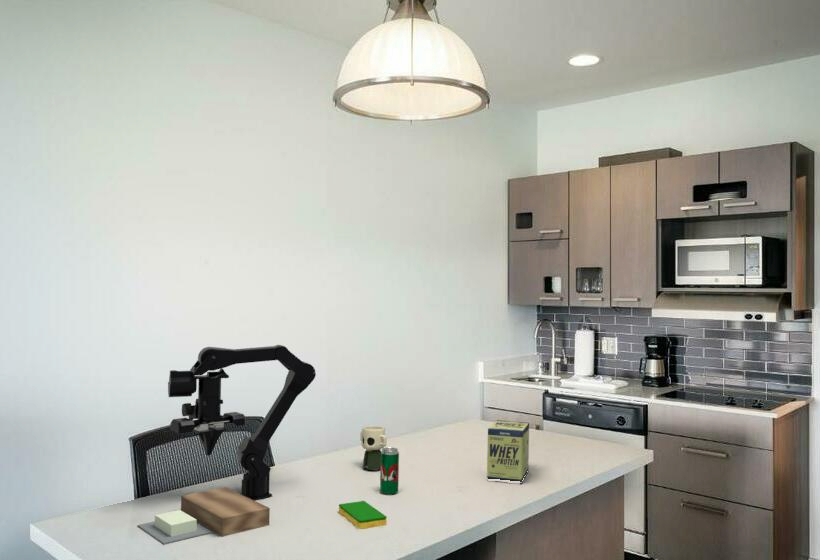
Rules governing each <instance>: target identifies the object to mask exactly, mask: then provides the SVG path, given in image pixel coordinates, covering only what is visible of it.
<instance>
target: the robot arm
mask: <svg viewBox="0 0 820 560" xmlns="http://www.w3.org/2000/svg"><path fill="white" fill-rule="evenodd" d="M270 361H271V362H272V361H278V362H279V363H280V364H281V365H282V366H283V367H284V368H285V369H286V370H288V372H287V375H286V376H285V380H284V386H283V388H282V390H281V391H280V393H279V394H278V396H277V397H276V399H275V400H274V402H273V404H272V405H271V407H270V408H269V410H268V412H267V413H266V415H265V417H263V420H262V422H261V423H260V425H259V426H258V428H257V429H256V431H255V432H254V433H253V434H252V435H251V436H250V437H249V436H248V435H244V436H243V438H242V441H241V442H240V444H239V445H238V446H236V449H237V452H236V459H237V463H239V464H240V466H241V467H242V468H243V469H244V470H245V471H246V472H244V473H243V474H242V477H243V478H242V480H241V492H239V494H241V495H243V496H245V497H247V498H250V499H252V500H254V501H256V500H261V499H265V498H269V497H273V494H272V493H271V492H270V472H271V469H272V468H271V467H270V466H269V464H268V463H266V461H265V460H264V459H265V456H266V454H267V450H268V446H269V443H270V440H271V439H272V437H273V436H274V434H275V432H276V431H277V429H278V428H279V426H280V424H281V422H282V421H283V419H284V418H285V416H286V415H287V413H288V411H289V410H290V408H291V406H292V405H293V404H294V401H295V400H296V399H297V397H298V396H299V395H301V393H303V392H304V391H305V390H306V389H307V388H308V387H309V386H310V385H311V384H312V382H313V381H314V380H315V378H316V375H317V374H316V369H315V367H314V366H313V365H312V364H310V363H308V362H306V361H304V360H303V361H302V359H300V358H299V357H297V356H296V355H295V354H294V353H292V352H291V351H290V350H289V349H288V347H286V346H285V345H282V344H276V345H271V346H260V347H259V346H257V347H248V348H244V347H243V348H225V347H217V346H207V347H203V348H202V349H201V350H200V351H199V353H198V356H197V360H196V362H194V364H193V366H191V368H190V369H189V370H176V369H175V370H174V369H173V370H169V377H168V382H167V395H168V398H181V397H183V398H184V397H185V398H187V397H192V395H193V394H195V393H197V392H198V393H197V398H196V399H195V402H194V403H195V404H194V405H192V403H191V402H186V403H183V404H181V415H182V417H180V418H172V420H171V421H170V423H169V425H170V427H169V429H170V431H172V432H175V433H178V434H186V433H192V432H193V433H196V434H197V435H198V437H199V439H200V442H201V445H202V447H203V450H204V452H205V455H206V456H211V455H212V453H213V452H214V449H215V447H216V444H217V443H218V440H219V439H220V437H221V436H222V434H223V432H226V431H227V427H225V426H224V425H225V424H226V425H227V424H233V425H234V426H235V427H241V426H245V425H246V424H247V418H246V416H245V414H243V413H241V412H238V411H231V412H224V413H223V414H221V409H222V408H221V405H223V404H224V399H222V379H229V378H230V375H229V374H228V373H227V372H226V371H225V370H224V368H227V367H230V366H234V365H238V364H248V363H250V364H251V363H258V362H260V363H261V362H270ZM217 370H218V371H217ZM205 373H206V374H205ZM197 381H198V383H197ZM197 384H198V387H197ZM197 388H198V389H197ZM197 390H198V391H197ZM187 417H188V418H187Z"/></svg>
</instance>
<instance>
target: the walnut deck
mask: <svg viewBox="0 0 820 560" xmlns="http://www.w3.org/2000/svg"><path fill="white" fill-rule="evenodd" d="M270 509H271V508H270V506H266V505H264V504H262V503H260V502H258V501H256V500H252V499H250V498H247V497H245V496H243V495H241V494H240V492H236V491H235V490H232V489H230V488H228V487H219V488H215V489H209V490H205V491H200V492H195V493H194V492H193V493H189V494H185V495H181V496H180V510H181V511H183V512H184V513H186V514H188V515H190V516H191V517H193V518H195V519H197V523H198V524H199V525H200V524H201V526H203V527H206V529H208V530H211V532H214V533H216V534H217V535H219V536H222V537H225V536H230V535H234V534H238V533H242V532H243V533H244V532H246V531H250V530H255V529H258V528H259V529H260V528H262V527H267V526H270V514H271V513H270V512H271V511H270Z"/></svg>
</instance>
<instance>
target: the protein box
mask: <svg viewBox="0 0 820 560" xmlns="http://www.w3.org/2000/svg"><path fill="white" fill-rule="evenodd" d="M529 441H530V422H524V421H511V420H503V419H502V420H500V419H497V420H496V421H495V422H494V423H492V424H491V425H490V427H489V428H487V452H486V453H487V455H486V456H487V457H486V459H487V460H486V462H487V463H486V464H487V466H486V471H487V472H486V479H487V478H488V479H500V480H510V481H520V482H522V480H523V478H524V476H525V475H526V473H527V471H528V472H529V462H530V461H529V459H530V458H529V455H530V452H529V451H530V449H529V448H530V443H529ZM527 474H528V473H527ZM526 476H527V475H526ZM523 481H524V480H523ZM522 483H523V482H522Z"/></svg>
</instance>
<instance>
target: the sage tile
mask: <svg viewBox="0 0 820 560" xmlns="http://www.w3.org/2000/svg"><path fill="white" fill-rule="evenodd" d="M154 521H155V526H156V527H157V528H159V529H160V530H162V531H163V532H165V533H166V534H168V535H169V536H171V537H172V536H176V535H180V534H184V533H188V532H193V531H197V524H198V522H197V519H195V518H193V517H191V516H190V515H188V514H186V513H184V512H183V511H181V509H177V510H173V511H169V512H163V513H159V514H155V515H154Z"/></svg>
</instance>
